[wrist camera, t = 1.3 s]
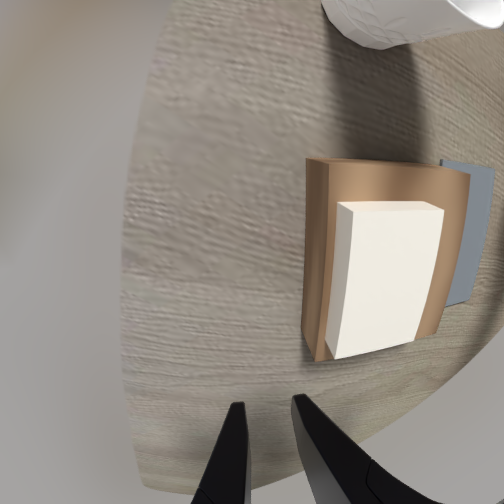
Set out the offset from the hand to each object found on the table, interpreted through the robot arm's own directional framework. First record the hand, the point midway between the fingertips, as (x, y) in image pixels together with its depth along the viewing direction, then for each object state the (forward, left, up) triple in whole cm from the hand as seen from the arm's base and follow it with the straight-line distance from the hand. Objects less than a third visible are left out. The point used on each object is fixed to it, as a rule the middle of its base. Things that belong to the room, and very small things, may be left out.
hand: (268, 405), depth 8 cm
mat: (-20, 0, -12) cm, 23 cm away
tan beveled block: (-10, 0, -12) cm, 16 cm away
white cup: (-9, -18, -12) cm, 24 cm away
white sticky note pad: (-8, 0, -8) cm, 11 cm away
